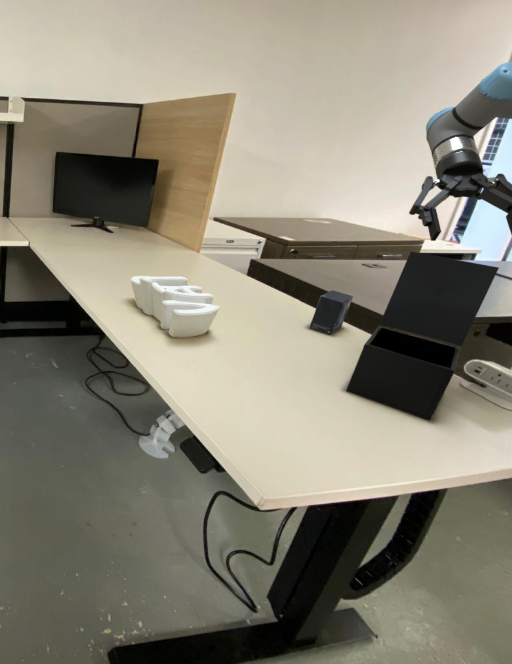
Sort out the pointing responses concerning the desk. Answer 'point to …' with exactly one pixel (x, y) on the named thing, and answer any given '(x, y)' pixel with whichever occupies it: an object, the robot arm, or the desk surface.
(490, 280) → the black box lid
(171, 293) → the white letter sign
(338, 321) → the small box
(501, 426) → the desk surface
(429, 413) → the black box body
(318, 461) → the desk surface
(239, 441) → the desk surface
